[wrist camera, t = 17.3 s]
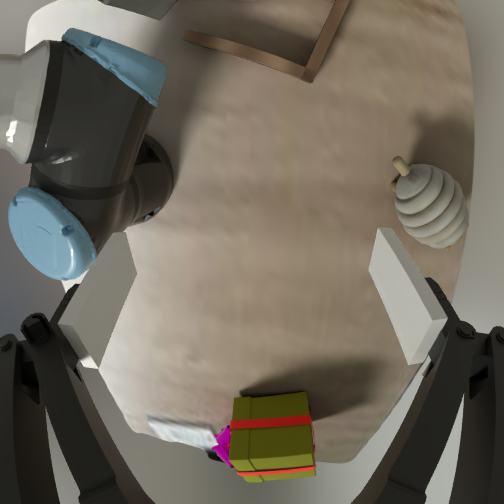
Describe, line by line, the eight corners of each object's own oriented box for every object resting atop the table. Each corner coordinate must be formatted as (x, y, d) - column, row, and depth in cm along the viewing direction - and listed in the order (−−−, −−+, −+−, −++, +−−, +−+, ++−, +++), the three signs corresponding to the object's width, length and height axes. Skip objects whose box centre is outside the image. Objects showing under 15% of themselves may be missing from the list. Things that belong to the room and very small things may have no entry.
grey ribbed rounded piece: (423, 243, 46) (449, 281, 36) (355, 180, 42) (374, 208, 33) (464, 199, 41) (498, 229, 31) (400, 127, 38) (432, 141, 28)
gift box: (307, 379, 70) (210, 389, 74) (313, 445, 51) (194, 451, 54) (314, 428, 77) (230, 435, 80) (319, 486, 57) (220, 492, 60)
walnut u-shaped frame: (347, 0, 29) (353, -8, 26) (310, 83, 36) (312, 82, 33) (228, -38, 28) (223, -49, 24) (191, 43, 35) (182, 39, 31)
